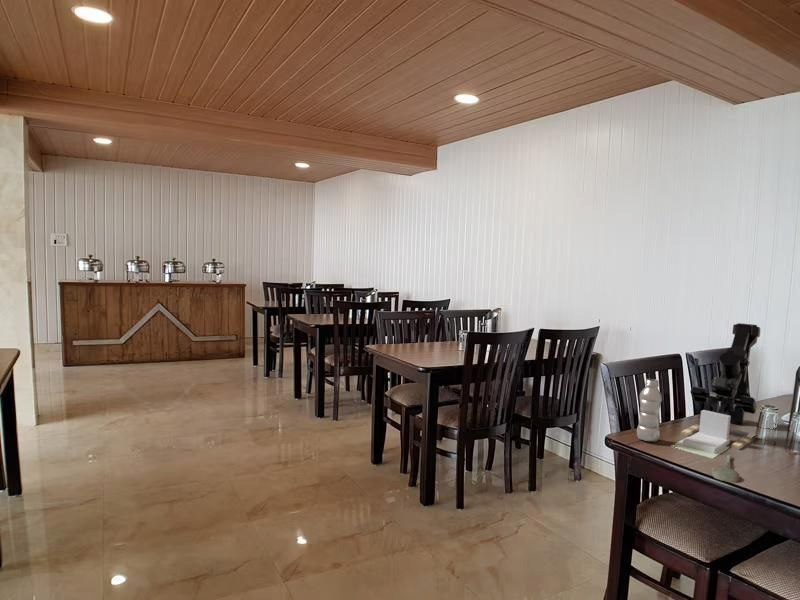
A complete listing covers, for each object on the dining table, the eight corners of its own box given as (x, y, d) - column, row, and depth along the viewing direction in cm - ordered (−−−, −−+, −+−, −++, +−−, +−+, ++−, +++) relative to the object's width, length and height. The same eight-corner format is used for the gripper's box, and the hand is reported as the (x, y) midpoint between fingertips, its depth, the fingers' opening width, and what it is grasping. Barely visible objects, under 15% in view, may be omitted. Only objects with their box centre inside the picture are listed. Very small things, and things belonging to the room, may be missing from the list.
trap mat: (705, 423, 189) (705, 422, 189) (756, 435, 177) (756, 434, 177) (699, 426, 184) (699, 425, 184) (751, 439, 172) (751, 438, 172)
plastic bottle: (662, 444, 162) (668, 383, 161) (641, 443, 163) (646, 381, 161) (653, 437, 169) (658, 378, 167) (632, 436, 169) (637, 377, 168)
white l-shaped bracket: (699, 435, 173) (701, 409, 172) (729, 443, 166) (732, 416, 166) (682, 444, 162) (685, 417, 162) (714, 453, 156) (717, 424, 155)
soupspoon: (708, 481, 138) (737, 490, 134) (710, 469, 137) (739, 477, 133) (717, 456, 155) (743, 463, 151) (719, 445, 155) (745, 452, 151)
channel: (695, 427, 183) (695, 424, 183) (751, 441, 170) (751, 437, 170) (680, 434, 173) (681, 431, 173) (738, 450, 161) (739, 446, 161)
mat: (688, 437, 171) (688, 436, 171) (729, 447, 162) (729, 447, 162) (670, 447, 161) (670, 446, 161) (712, 459, 152) (712, 458, 152)
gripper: (694, 363, 179) (680, 398, 172) (757, 373, 165) (744, 412, 159) (700, 383, 185) (686, 417, 178) (761, 394, 171) (749, 432, 165)
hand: (715, 419), depth 170 cm, fingers closed, pressing on white l-shaped bracket
